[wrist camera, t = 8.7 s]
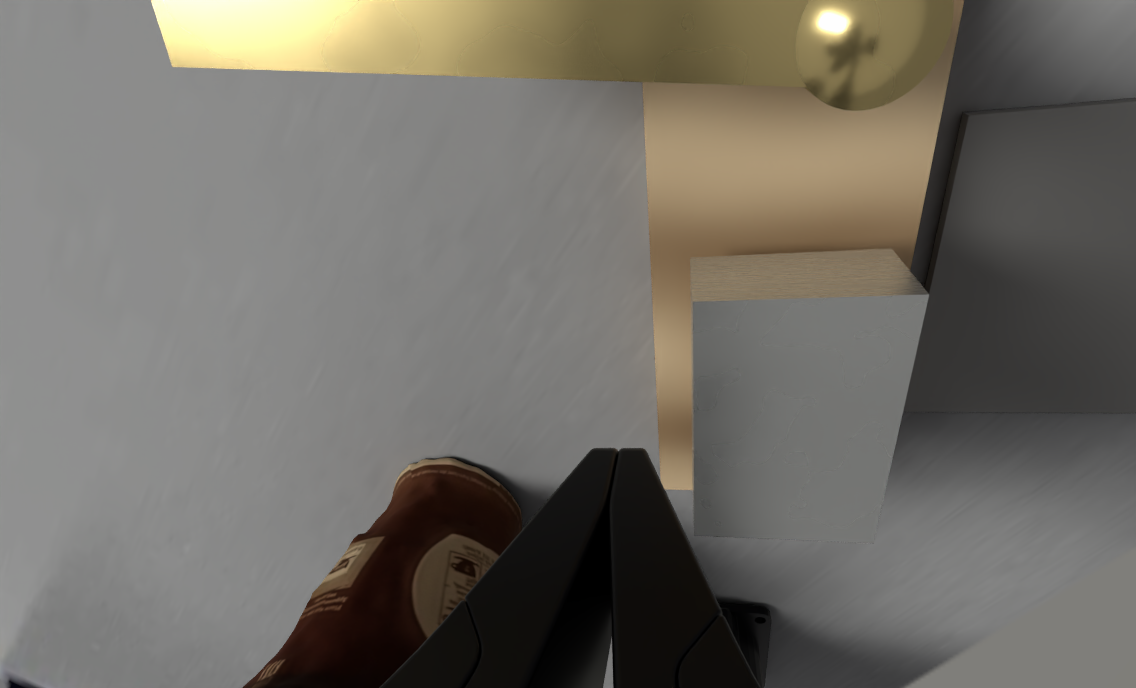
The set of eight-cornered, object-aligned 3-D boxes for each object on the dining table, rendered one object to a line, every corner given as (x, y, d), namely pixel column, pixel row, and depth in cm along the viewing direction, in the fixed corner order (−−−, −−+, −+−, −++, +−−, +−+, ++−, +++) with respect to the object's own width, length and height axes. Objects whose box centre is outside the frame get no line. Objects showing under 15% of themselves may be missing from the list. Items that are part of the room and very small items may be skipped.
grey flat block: (850, 478, 18) (873, 543, 16) (692, 474, 19) (694, 535, 17) (892, 248, 14) (929, 294, 12) (690, 257, 15) (692, 301, 13)
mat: (1159, 405, 19) (1168, 413, 19) (899, 405, 21) (902, 412, 21) (1322, 82, 14) (1337, 84, 14) (962, 112, 16) (969, 115, 16)
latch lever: (853, -39, 13) (977, -54, 7) (830, 64, 14) (924, 113, 8) (331, -41, 14) (134, -55, 9) (347, 51, 15) (178, 86, 10)
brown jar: (515, 424, 24) (384, 783, 13) (575, 556, 28) (511, 919, 17) (342, 452, 27) (114, 772, 16) (419, 570, 31) (277, 894, 20)
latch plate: (847, 447, 22) (882, 541, 19) (662, 444, 24) (660, 531, 20) (940, -107, 14) (1041, -141, 10) (641, -61, 15) (629, -77, 11)
